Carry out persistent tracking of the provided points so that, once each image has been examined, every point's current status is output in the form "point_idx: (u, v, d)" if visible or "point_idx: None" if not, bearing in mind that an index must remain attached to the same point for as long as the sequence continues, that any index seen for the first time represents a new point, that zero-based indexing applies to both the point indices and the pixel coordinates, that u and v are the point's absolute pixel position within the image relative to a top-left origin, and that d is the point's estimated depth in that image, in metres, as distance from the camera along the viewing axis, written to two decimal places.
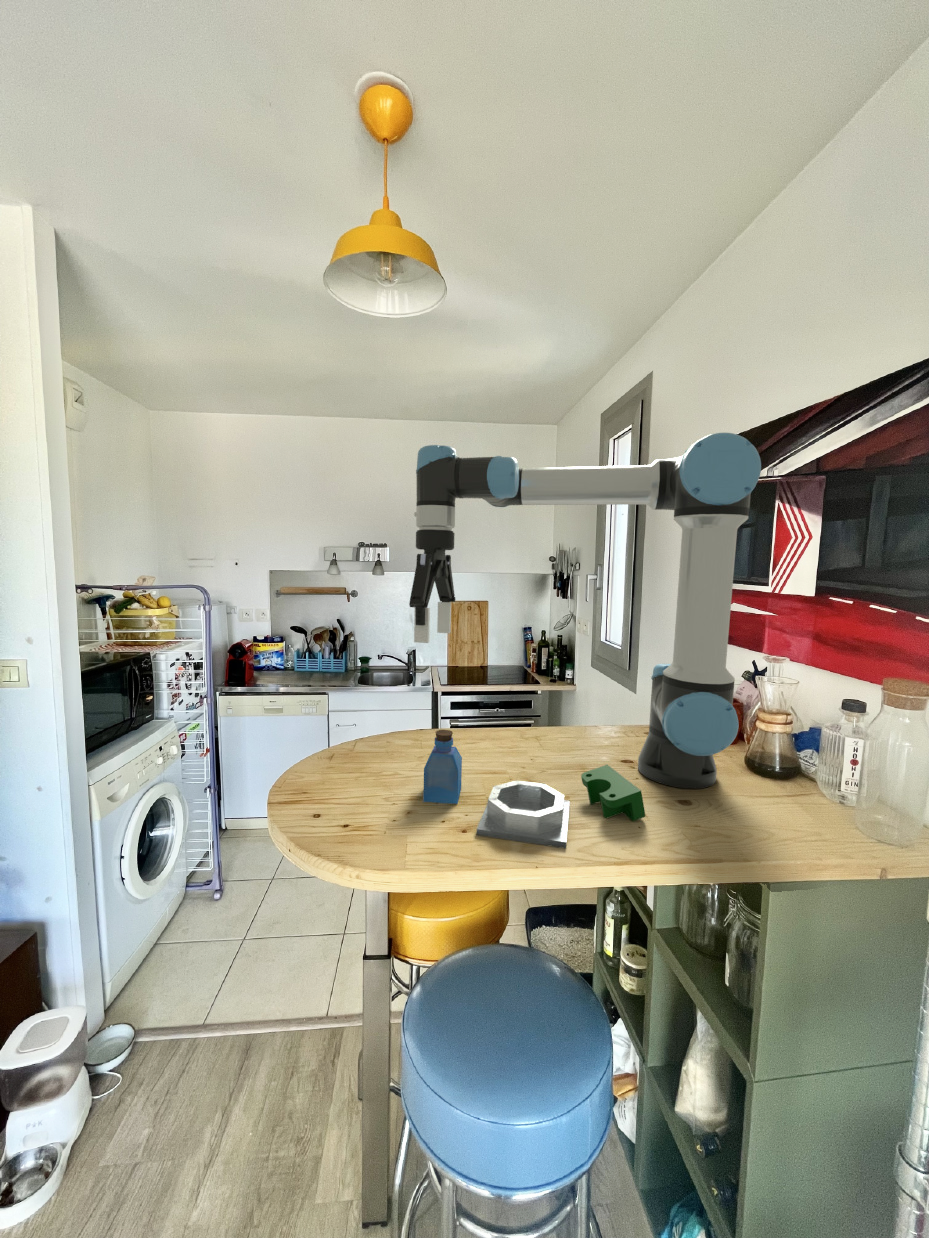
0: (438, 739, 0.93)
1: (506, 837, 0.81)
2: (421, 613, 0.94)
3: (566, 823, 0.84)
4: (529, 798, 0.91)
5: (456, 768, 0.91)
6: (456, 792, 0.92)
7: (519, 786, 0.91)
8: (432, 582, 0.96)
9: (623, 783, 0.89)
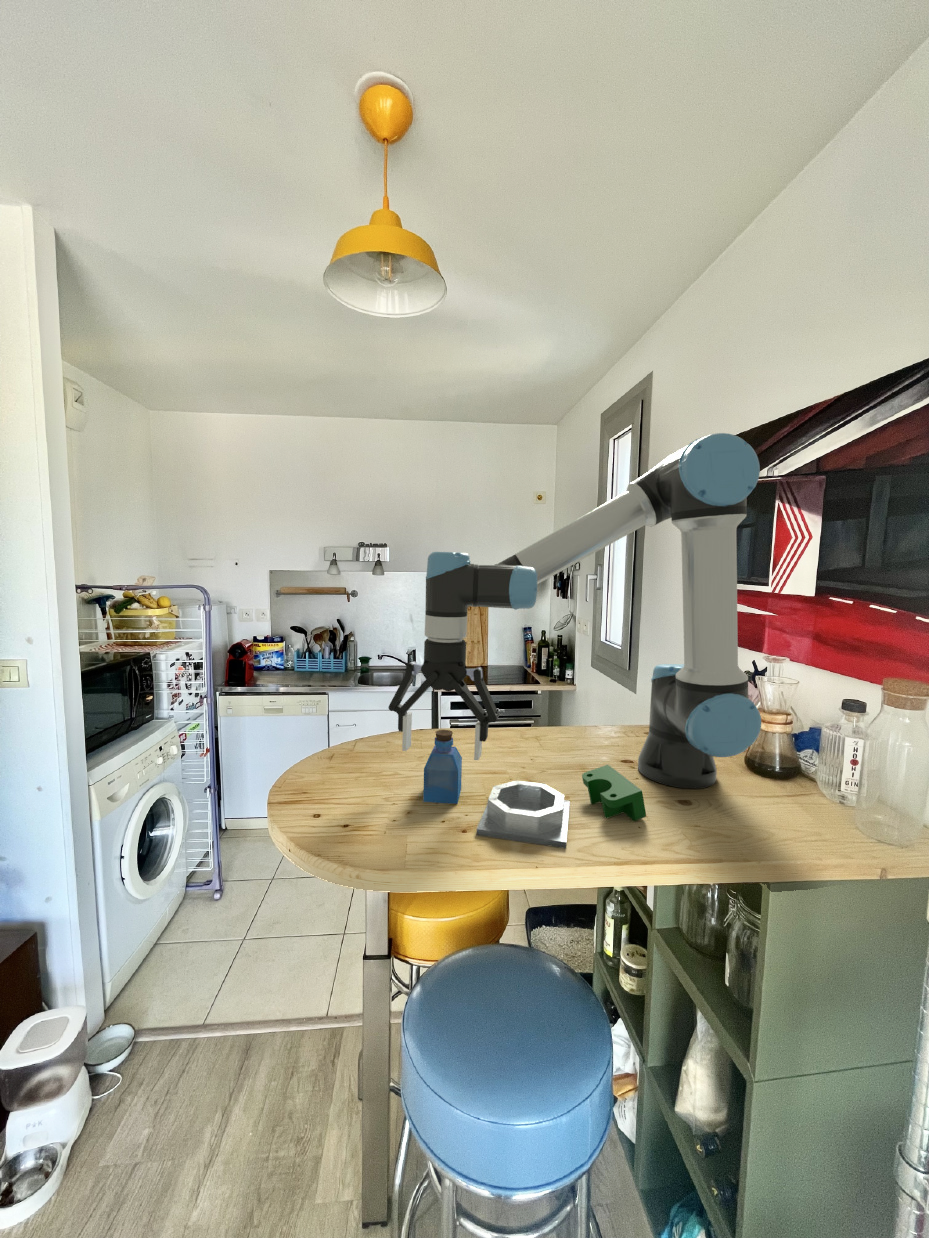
0: (438, 739, 0.93)
1: (506, 837, 0.81)
2: None
3: (566, 823, 0.84)
4: (529, 798, 0.91)
5: (456, 768, 0.91)
6: (456, 792, 0.92)
7: (519, 786, 0.91)
8: (417, 692, 0.93)
9: (623, 783, 0.89)
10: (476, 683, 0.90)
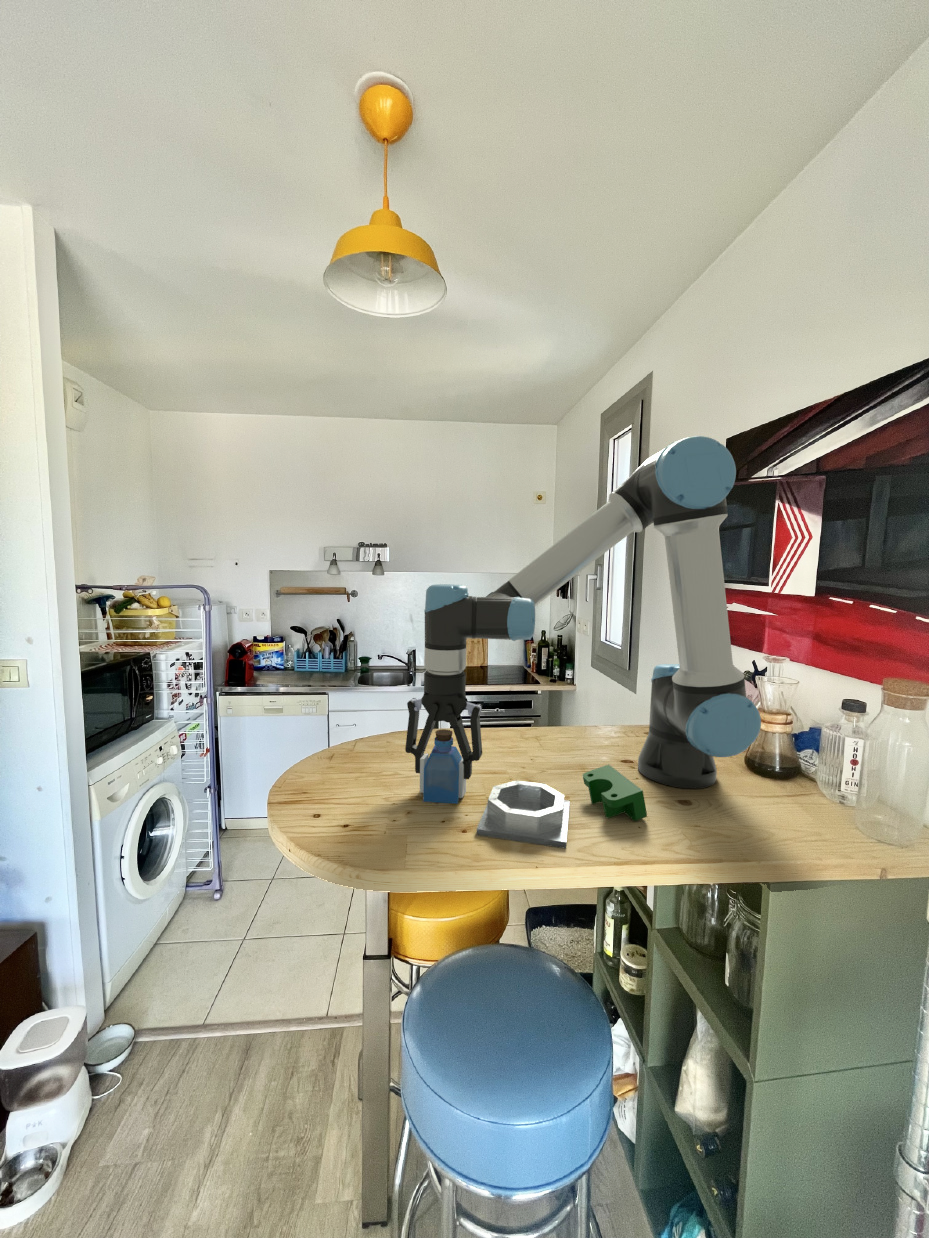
0: (438, 739, 0.93)
1: (506, 837, 0.81)
2: None
3: (566, 823, 0.84)
4: (529, 798, 0.91)
5: (456, 768, 0.91)
6: (456, 792, 0.92)
7: (519, 786, 0.91)
8: (425, 729, 0.93)
9: (624, 783, 0.89)
10: (472, 720, 0.91)
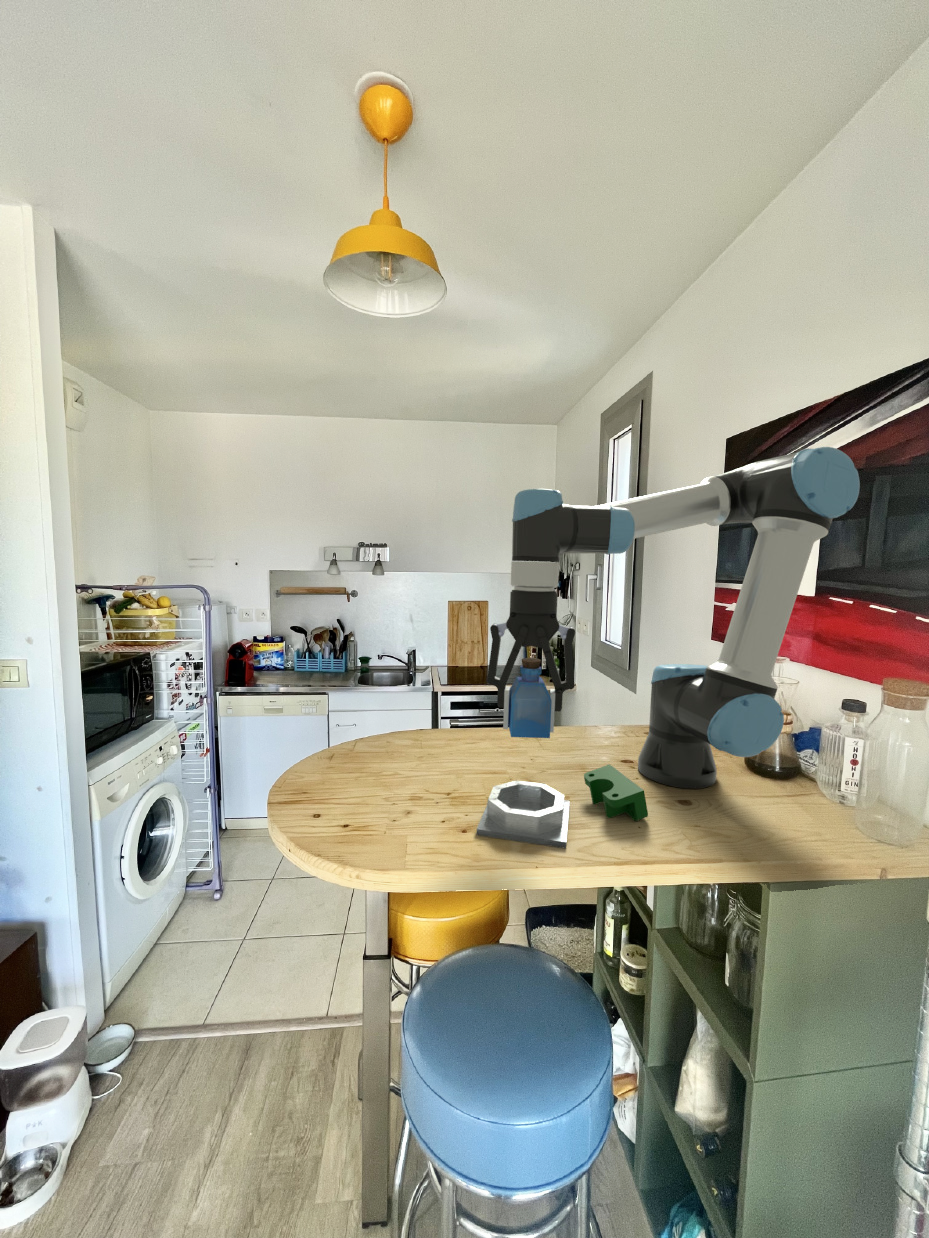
0: (526, 667, 0.83)
1: (506, 837, 0.81)
2: None
3: (566, 823, 0.84)
4: (529, 798, 0.91)
5: (549, 697, 0.81)
6: (548, 725, 0.82)
7: (519, 786, 0.91)
8: (511, 657, 0.83)
9: (625, 783, 0.89)
10: (566, 643, 0.81)
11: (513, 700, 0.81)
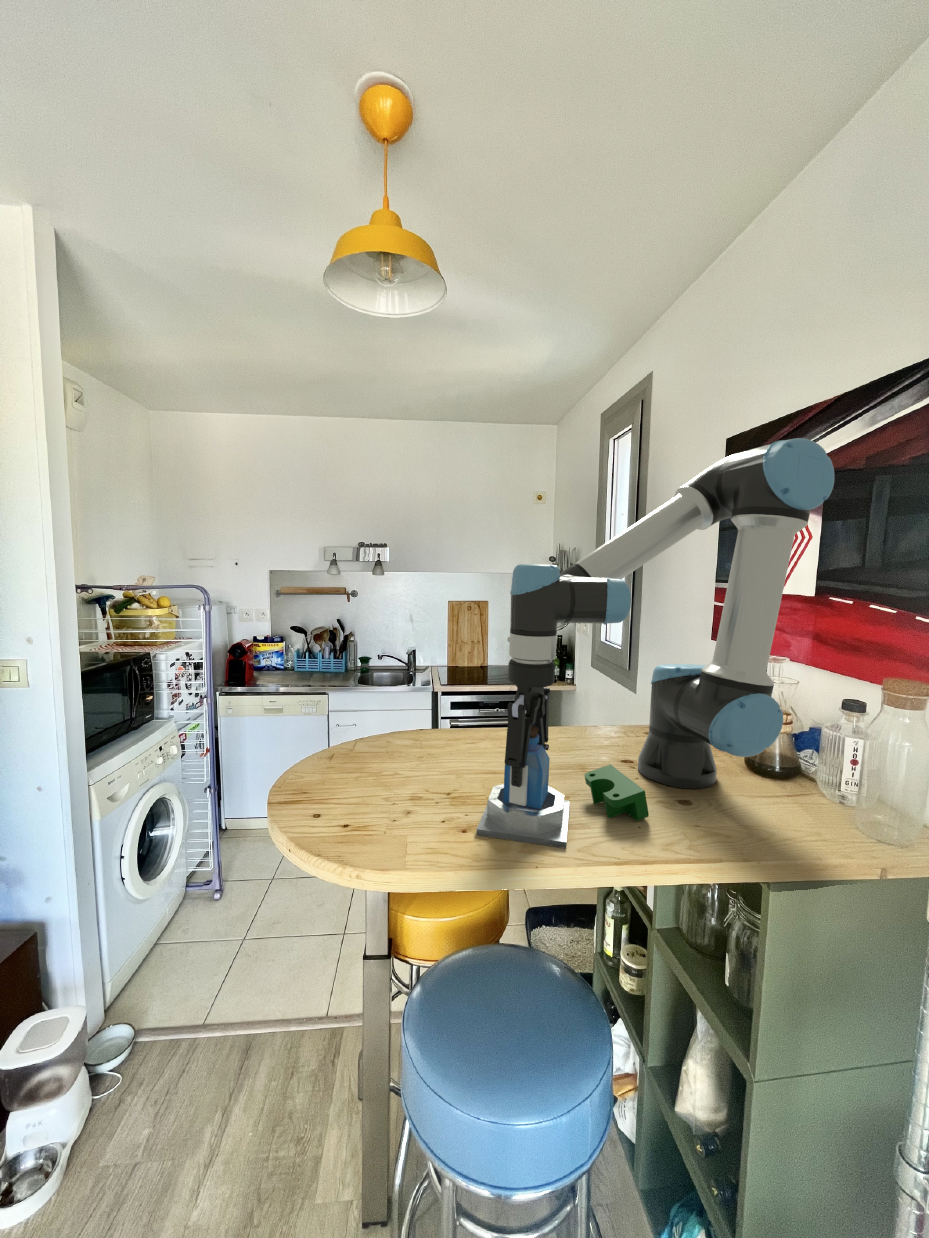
0: (534, 736, 0.84)
1: (506, 837, 0.81)
2: (518, 773, 0.81)
3: (566, 823, 0.84)
4: None
5: (548, 756, 0.87)
6: None
7: None
8: (529, 731, 0.82)
9: (626, 783, 0.89)
10: (547, 702, 0.89)
11: (542, 772, 0.82)
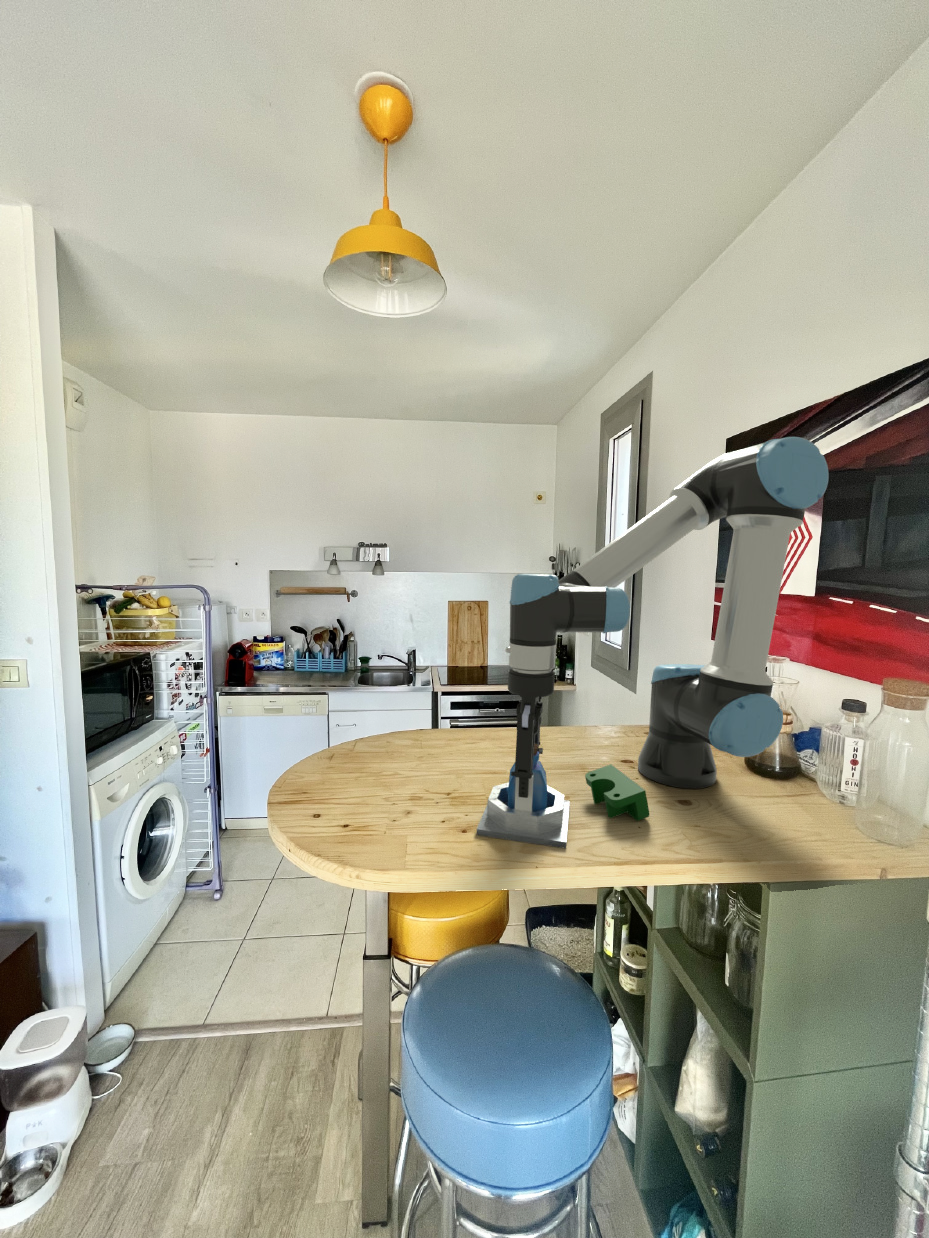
0: (535, 753, 0.84)
1: (506, 837, 0.81)
2: (526, 784, 0.80)
3: (566, 823, 0.84)
4: None
5: None
6: None
7: None
8: (534, 741, 0.81)
9: (627, 783, 0.89)
10: None
11: None
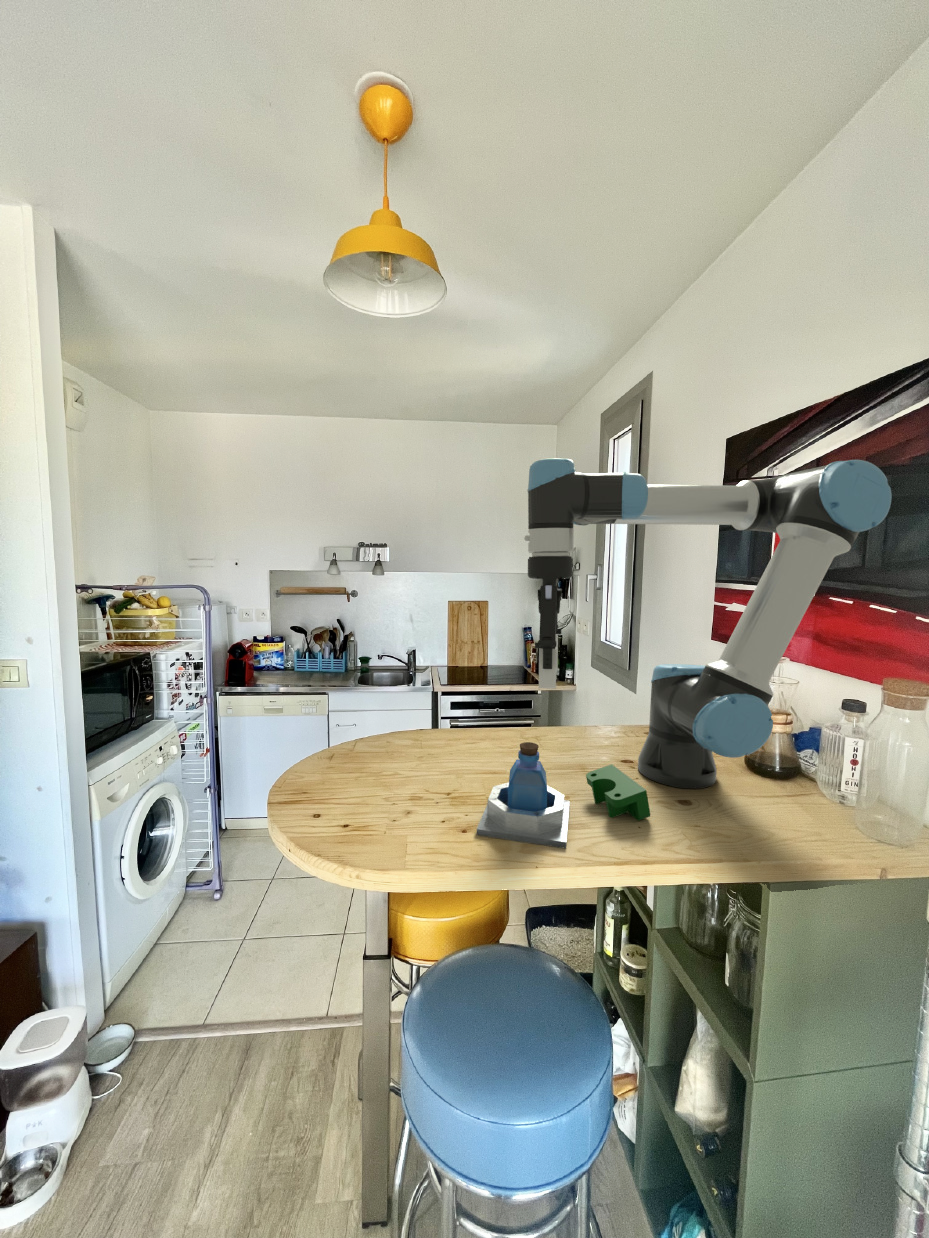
0: (535, 753, 0.84)
1: (506, 837, 0.81)
2: (550, 655, 0.80)
3: (566, 823, 0.84)
4: None
5: None
6: None
7: None
8: None
9: (628, 783, 0.89)
10: None
11: None
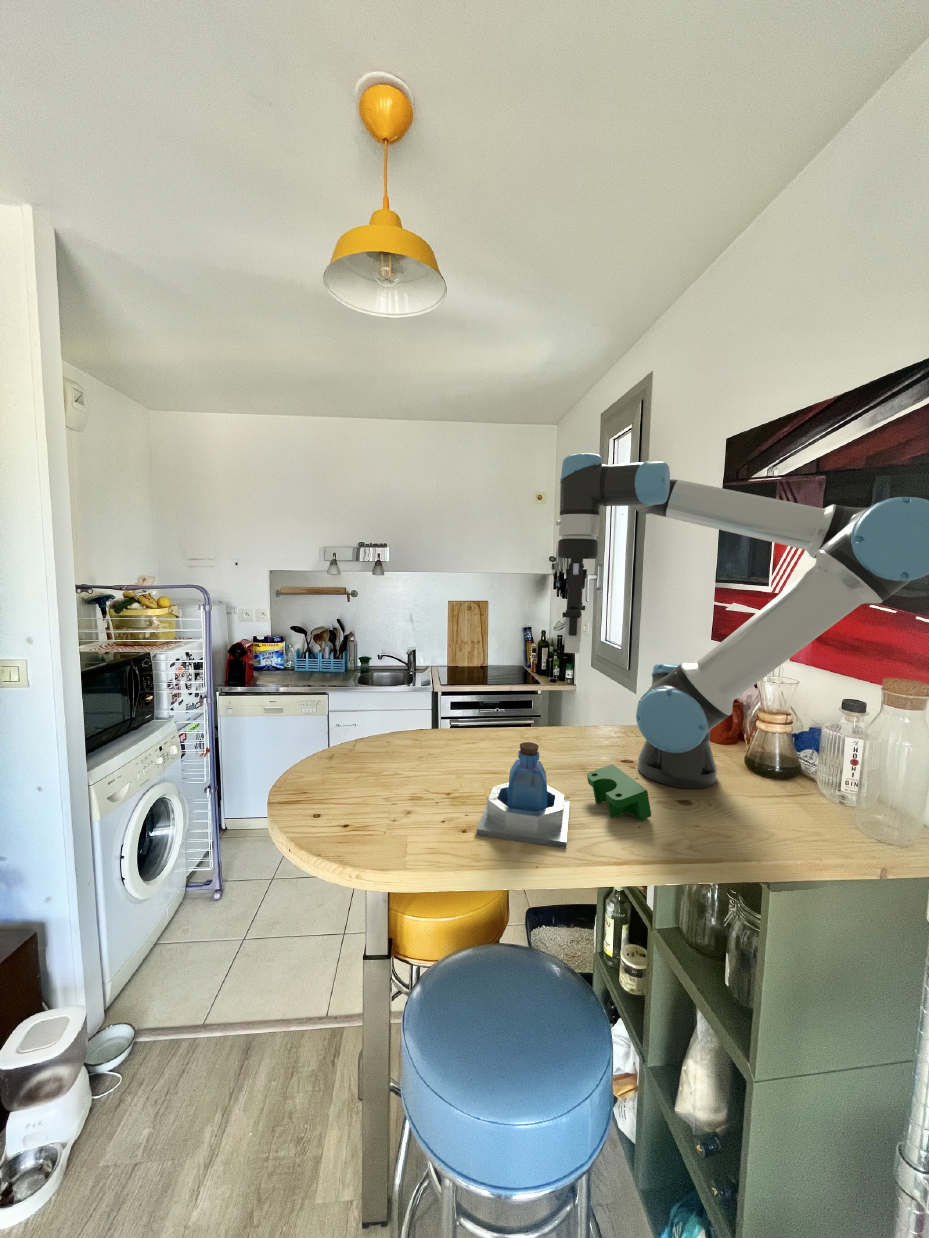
0: (535, 753, 0.84)
1: (506, 837, 0.81)
2: (575, 623, 0.93)
3: (566, 823, 0.84)
4: None
5: None
6: None
7: None
8: (581, 592, 0.96)
9: (629, 783, 0.89)
10: (582, 575, 1.06)
11: None
